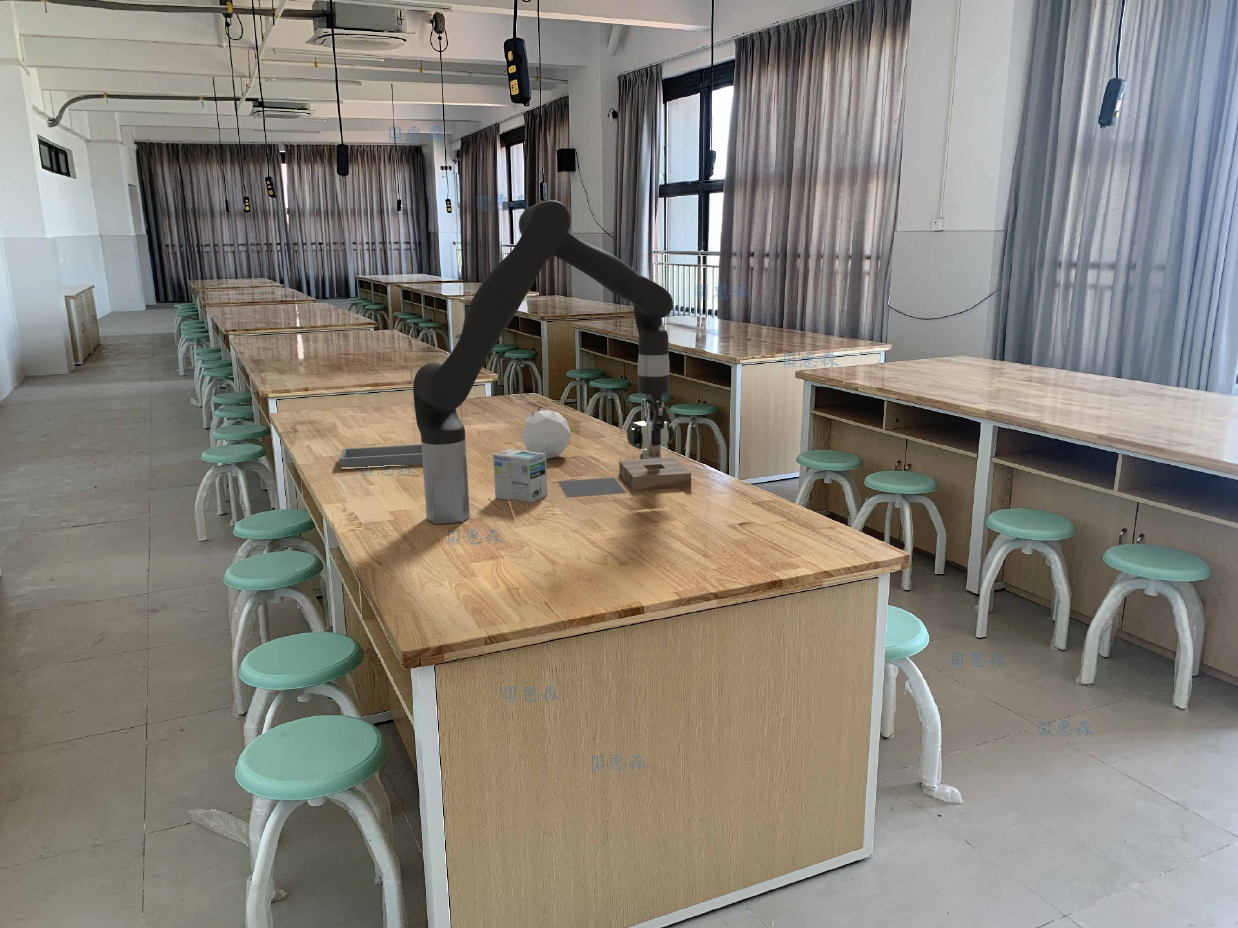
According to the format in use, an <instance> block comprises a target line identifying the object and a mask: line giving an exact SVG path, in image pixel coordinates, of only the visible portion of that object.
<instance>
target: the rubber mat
mask: <svg viewBox="0 0 1238 928" xmlns="http://www.w3.org/2000/svg"><path fill="white" fill-rule="evenodd" d="M557 482H558V484H559V487H560V488H561V489H562V491H563V493H564V494H565V495H564V496H565V497H566V498H575V497H590V496H602V495H616V494H617V495H619V494H626V493H627V491H626V490H625V489H624V488H623V486H621V485H620V483H619V482H618V480H617V479H616V478H615V477H602V478H587V479H573V480H559V481H557Z"/></svg>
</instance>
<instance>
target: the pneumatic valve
mask: <svg viewBox="0 0 1238 928" xmlns="http://www.w3.org/2000/svg"><path fill="white" fill-rule="evenodd" d="M630 423H631V424H630V427H629V428H628V429H627V431H626V437H627V438H626V440H627V441H628V444H629V445H631V446H632V447H634V448H636V449H638V450H641V453H640V454H639V459H655V458H662V455H661V456H659V457H650V456H648V427H647V425H646V423H645V421H644V420H643V421H636V422H630ZM674 434H675V433H674V428H673V425H672V424H671V423H670V422H669V421H667V420H665V422H664V429H662V430H661V447H666V446H668V447H669V446H670V443H671V440H673V439H674Z"/></svg>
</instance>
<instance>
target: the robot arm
mask: <svg viewBox="0 0 1238 928" xmlns="http://www.w3.org/2000/svg"><path fill="white" fill-rule="evenodd" d="M571 220H572V219H571V214H570V212H569V210H568V208H567V206H566V205H565V204H563V203H562V202H560V201H558V200H553V199H549V200H548V199H547V200H543V201H540V202H537V203H534V204H533V205H531V206H529V207H528V208H526V209H525V210H523V211H522V213H521V215H520V216H519V219H518V229H519V233H520V237H519V239H518V241H517V242H516V244H515V246H514V247H513V248H512V250H511V251H510V252H509V253H508V254H507V255H506V256H505V257H504V258H503V259H502V260H501V261H500V262H499V263H497V265H496V266H495V267H494V269H493V270H492V271H491V272H490V273H489V274H488V275H487V276H486V277H485V279H484V280H483V281H482V283H481V284H480V285H479V287H478V289H477V291H476V292H475V294H474V295H473V297H472V299H471V300H470V302H469V304H468V306H467V308H466V312H465V315H464V320H463V325H462V330H461V333H460V336H459V339H458V341H457V343H456V344H455V346H454V348H453V350H452V351H451V353H450V354H449V355H448V357H447V358H446V359H445V361H444V362H443V363H440V362H430V363H426V364H424V365H423V366H421V367H420V368H419V369H418V370H417V372H416V374H415V376H414V377H413V378H414V379H413V387H412V390H413V391H412V392H413V393H412V394H413V403H414V414H415V420H416V426H417V429H418V431H419V433H420V441H421V443H420V444H422V459H423V465H422V473H423V484H424V485H423V486H424V501H425V510H426V511H425V512H426V515H425V516H426V520H427V521H428V522H430V523H433V524H434V525H440V524H441V525H442V524H443V525H444V524H454V523H455V524H456V523H464V521H465V520H467V519H469V518H470V517H471V512H470V495H469V479H468V478H469V477H468V460H467V443H466V441H467V440H466V439H467V438H466V428H465V425H464V424H463V422H462V421H461V420H460V418H459V416H458V413H457V408H459V407H460V406H462V404H463V403H464V402H465V401H466V399H467V398H468V397H469V394H470V392H471V390H472V389H473V386H474V385H475V382H476V380H477V378H478V376H479V373H480V372H481V370H482V368H483V366H484V364H485V363H486V360H487V359H488V357H489V355H490V354H491V352H492V351H493V350H494V348H495V346H496V344H497V343H498V341H499V340H500V338H501V337H502V335H503V333H504V331H505V330H506V329H507V328H508V326H509V324H510V323H511V321H512V320H513V319H514V317H515V316H516V313H517V312H518V310H519V309H520V307H521V305H522V303H523V301H524V299H525V298H526V297H527V295H528V293H529V292H530V289H531V288H532V286H533V285H534V282H535V281H536V279H537V277H538V275H539V273H540V272H541V271H542V269H543V267H544V265H545V264H546V263H547V261H548V260H549V259H550V258H551V256H554V257H555V258H557V259H559V260H562V261H563V262H565V263H566V264H568V265H571V266H572V267H574V268H575V269H577V270H579V271H580V272H582V273H583V274H585V275H587V276H588V277H589V278H591V279H593V280H594V281H596V282H597V283H598V284H599V285H601V286H603V287H604V288H605V289H607V290H608V291H610V292H611V293H612V294H614V295H615V296H617V297H619V298H621V299H624V300H626V301H628V302H631V304H633V312H634V313H633V314H634V319H635V324H636V329H637V333H638V359H637V391H638V393H639V394H642V395H645V398H643V399H642V408H643V418H644V420H643V421H645V423H646V425H647V427H648V419H649V420H650V421H651V444H652V445H653V446H658V445H660V444H661V430H662V429H664V422H665V421H666V413H667V408H666V406H665V403H664V402H665V401H664V400H663V399H662V396H663V395H664V394H668V393H669V392H670V385H671V383H670V375H671V374H670V358H669V357H670V356H669V334H668V331H667V330H666V329H665V328H664V325H663V320H662V319H663V318H666V317H667V316H668V315H670V313H671V312H672V310H673V307H674V301H673V296H672V295H671V294H670V292H669V290H668V289H666V288H664V287H663V286H661V285H660V284H658V283H657V282H655V281H653V280H651V279H649V278H648V277H645V276H643V275H642V274H641V273H639V272H637V271H636V270H635V269H633V268H632V267H631V266H630V265H628V264H627V263H625V262H624V261H623V260H621V259H620V258H618V257H617V256H615V255H614V254H612V253H610V252H608V251H606V250H604V249H602V248H600V247H596V246H595V245H593V244H590V243H588V242H586V241H584V240H583V239H580V238H579V237H577V236H576V235H574V234H573V233H572V232H570V229H571ZM652 416H654V417H652ZM656 422H659V424H656Z"/></svg>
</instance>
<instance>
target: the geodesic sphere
mask: <svg viewBox="0 0 1238 928" xmlns="http://www.w3.org/2000/svg"><path fill="white" fill-rule="evenodd" d="M527 416H528V418H527V419H526V420H525V421H524V425H523V427H522V430H521V433H520V438H521V439H522V442H523V445H524V447H525V450H526V451H530V452H539V453H546V460H549V459H552V458H556V457H558V456H561V455H562V453H563V452H564V451H565V449H566V448H567V446H568V445H569V441H570V438H571V434H572V433H571V429H570V425H569V424H568V420H567V419H566V418H565V417H564V416H562V415H561V414H560V413H559V412H557V411H553V410H552V409H548V408H543V407H540V410H539V411H531V412H530V414H529V415H527Z"/></svg>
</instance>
